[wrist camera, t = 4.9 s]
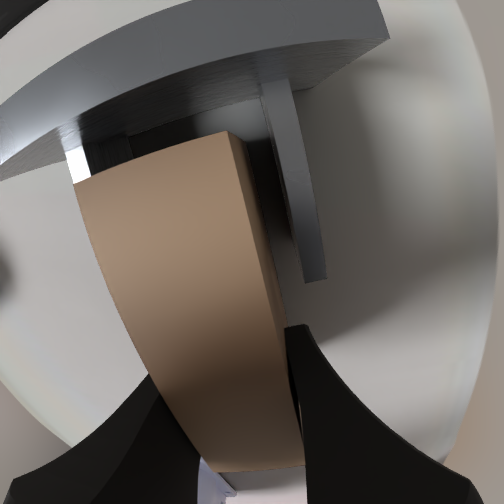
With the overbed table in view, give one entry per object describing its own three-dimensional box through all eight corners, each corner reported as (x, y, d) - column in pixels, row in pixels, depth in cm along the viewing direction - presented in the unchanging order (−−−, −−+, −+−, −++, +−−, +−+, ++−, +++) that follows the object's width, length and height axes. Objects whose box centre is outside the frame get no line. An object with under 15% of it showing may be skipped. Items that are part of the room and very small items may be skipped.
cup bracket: (339, 230, 10) (413, 342, 5) (132, 275, 11) (57, 386, 6) (304, 60, 8) (368, -21, 2) (83, 129, 9) (-48, 154, 3)
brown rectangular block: (296, 365, 12) (307, 464, 7) (227, 376, 12) (213, 472, 7) (245, 141, 9) (226, 130, 4) (159, 165, 9) (73, 183, 5)
